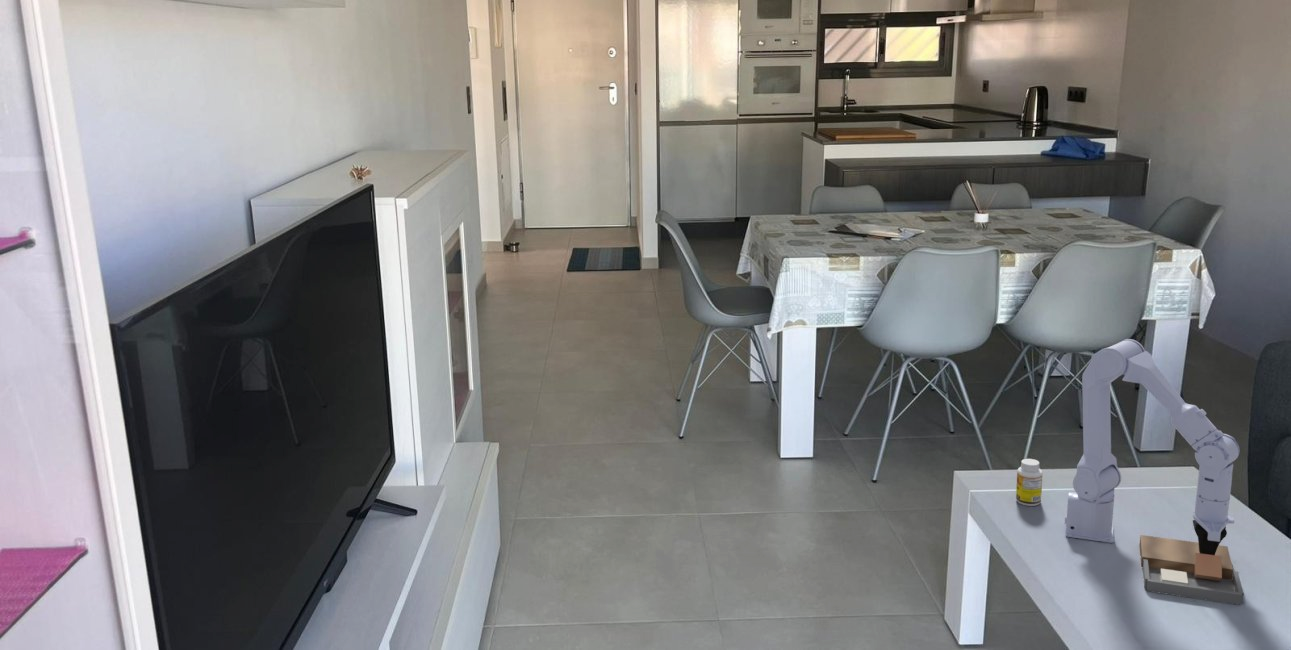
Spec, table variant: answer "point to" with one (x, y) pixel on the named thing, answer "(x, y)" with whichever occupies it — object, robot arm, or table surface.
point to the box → (1196, 586)
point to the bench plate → (1178, 555)
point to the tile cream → (1173, 576)
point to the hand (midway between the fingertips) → (1206, 557)
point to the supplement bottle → (1029, 483)
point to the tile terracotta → (1208, 566)
